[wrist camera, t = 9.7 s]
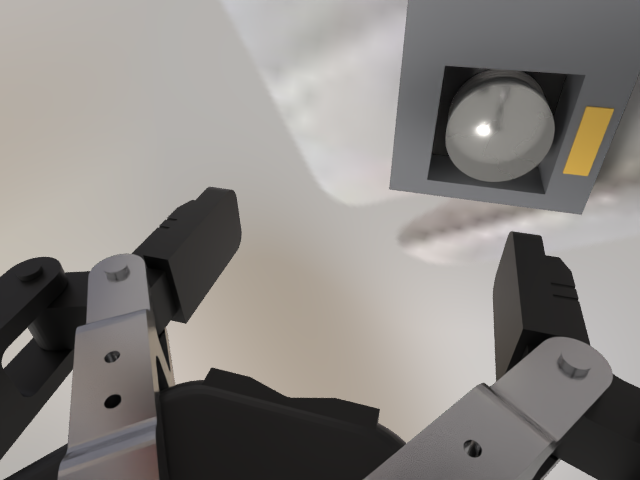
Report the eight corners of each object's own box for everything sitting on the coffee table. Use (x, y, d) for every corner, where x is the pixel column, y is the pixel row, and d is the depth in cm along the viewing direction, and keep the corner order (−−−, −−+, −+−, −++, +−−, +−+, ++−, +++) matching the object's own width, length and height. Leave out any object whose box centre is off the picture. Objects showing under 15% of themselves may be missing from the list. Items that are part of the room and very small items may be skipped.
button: (456, 64, 20) (454, 81, 18) (559, 71, 19) (569, 89, 17) (441, 152, 23) (438, 175, 21) (531, 162, 22) (537, 187, 20)
